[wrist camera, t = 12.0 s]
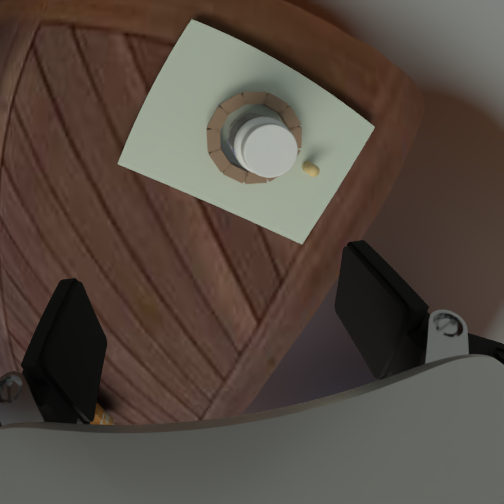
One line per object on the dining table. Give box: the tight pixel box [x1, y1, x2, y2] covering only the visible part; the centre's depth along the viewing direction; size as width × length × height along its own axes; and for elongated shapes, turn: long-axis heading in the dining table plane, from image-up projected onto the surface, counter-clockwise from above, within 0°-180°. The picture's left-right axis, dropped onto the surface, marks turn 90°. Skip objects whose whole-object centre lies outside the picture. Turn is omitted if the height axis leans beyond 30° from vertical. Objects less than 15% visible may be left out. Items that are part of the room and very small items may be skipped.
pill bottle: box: [228, 113, 298, 178], centre depth 23 cm, size 5×5×8 cm
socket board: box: [118, 20, 375, 244], centre depth 27 cm, size 22×16×3 cm
